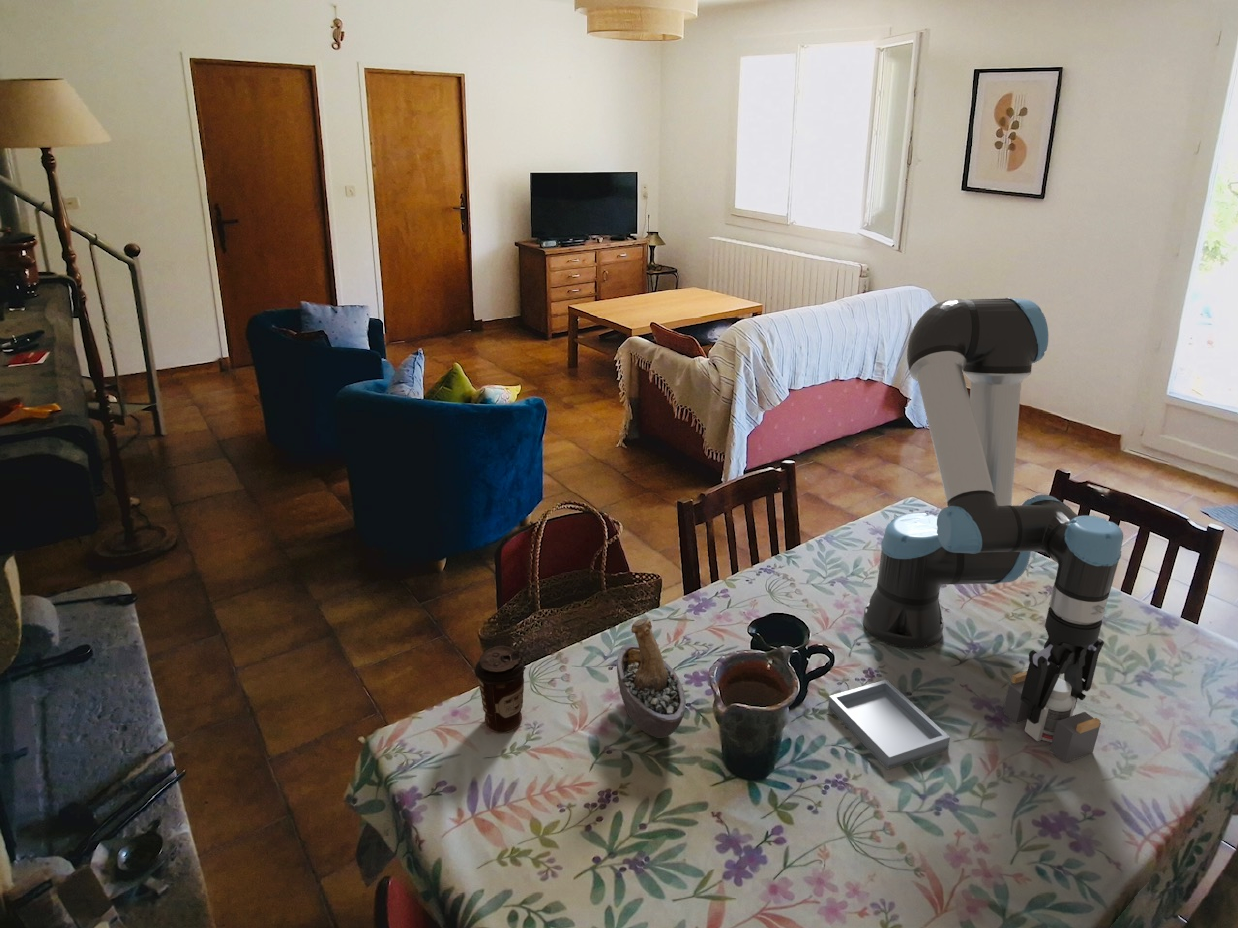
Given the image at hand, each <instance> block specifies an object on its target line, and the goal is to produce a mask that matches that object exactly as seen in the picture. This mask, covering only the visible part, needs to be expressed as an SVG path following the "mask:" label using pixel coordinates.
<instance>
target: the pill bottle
mask: <svg viewBox="0 0 1238 928" xmlns="http://www.w3.org/2000/svg"><path fill="white" fill-rule="evenodd" d="M1071 689H1072V688H1071V685H1070V684H1069V683H1068V682H1066V681H1065V680H1064V678H1063V679H1062V678H1060V677H1059V678H1058V680H1057V682H1056V684H1055V687H1054V689H1053V691H1052V693H1051V695H1050V697H1049V700H1048V702H1047V704H1046V707H1047V708H1049V710H1048V714H1047V718H1046V722H1045V726H1044V730H1043V734H1042V738H1041V740H1042V741H1044V742H1049V743H1052V739H1053V735H1054V731H1055V727H1056V724H1057V721H1059V720H1062V719H1065V718H1068V717H1070V713H1071V709H1072V705H1073V702H1072V699H1071V697H1070V695H1071Z"/></svg>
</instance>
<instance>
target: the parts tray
mask: <svg viewBox="0 0 1238 928" xmlns="http://www.w3.org/2000/svg"><path fill="white" fill-rule="evenodd" d="M827 708H828V709H829V710H830V712H832V713H833V714H834V715H835V716H836V718H838V719H839V721H840V722H842V724H843V725H844V726H845V727H846V728H847V729H848V730H849V731H850V733H852V734H853V735H854V737H856V738H857V740H858V741H860V742H861V744H863V746H864V747H865V748H866V749H867V750H868V752H870V753H871V754H872V755H873V756H874V757H875V759H877V761H879V763H880V764H882V766H883V767H884V768H885V769H886V770H887V771H888V770H890V769H893V768H894V769H895V768H896V767H899V766H900V767H901V766H902V765H905V764H908V763H911V762H914V761H918V760H920V759H922V758H927V757H929V756H932V755H935V754H938V753H941V752H944V751H947V750H949V745H950V739H951V737H950V736H949V734H947V732H946V731H944V730H943V729H942V728H941V727H940V726H938V725H937V723H936V722H934V721H933V720H932V719H930V717H929V716H928V715H926V714H925V713H924V712H923V711H922V710H921V709H920V708H918V707H917V705H915V704H914V702H912V701H911V700H910V699H909V698H908V697H907V696H905V695H904V694H903V693H902V692H901V691H900V690H899V689H898V688H896V687H895V686H894V685H893V684H892V683H891V682H890V681H889V680H888V679H887V678H886V679H883V680H879V681H877V682H872V683H869V684H866V685H862V686H859V687H856V688H852V689H849V690H848V689H847V690H845V691H842V692H837V693H834V694H832V695H829V697H828V705H827Z"/></svg>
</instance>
